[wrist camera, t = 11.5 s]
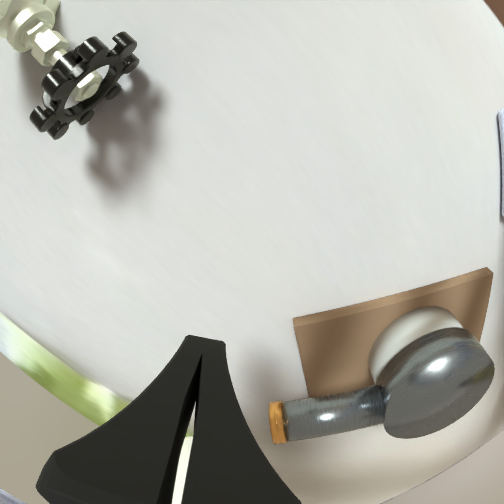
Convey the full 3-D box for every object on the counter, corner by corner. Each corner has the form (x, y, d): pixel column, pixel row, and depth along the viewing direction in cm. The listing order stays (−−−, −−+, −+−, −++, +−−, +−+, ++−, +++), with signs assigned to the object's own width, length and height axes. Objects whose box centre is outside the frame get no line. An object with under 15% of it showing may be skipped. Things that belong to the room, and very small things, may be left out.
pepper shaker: (207, 462, 31) (197, 541, 21) (165, 446, 30) (148, 528, 20) (231, 447, 29) (225, 537, 19) (186, 429, 28) (169, 524, 18)
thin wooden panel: (486, 267, 20) (512, 290, 16) (461, 382, 25) (475, 407, 22) (292, 318, 22) (297, 354, 18) (315, 425, 27) (319, 456, 24)
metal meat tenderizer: (487, 312, 17) (509, 338, 14) (462, 391, 20) (475, 417, 17) (260, 365, 18) (260, 403, 16) (280, 436, 22) (281, 467, 19)
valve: (2, 39, 13) (85, 134, 17) (-60, 35, 7) (17, 150, 11) (58, -32, 11) (157, 53, 15) (3, -58, 5) (107, 27, 9)
